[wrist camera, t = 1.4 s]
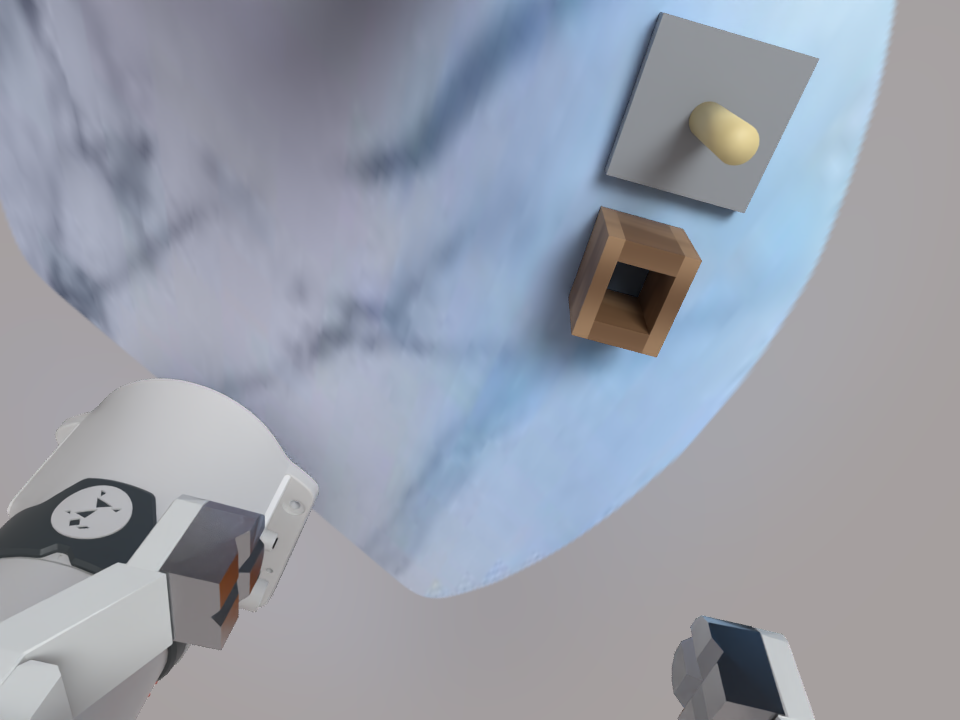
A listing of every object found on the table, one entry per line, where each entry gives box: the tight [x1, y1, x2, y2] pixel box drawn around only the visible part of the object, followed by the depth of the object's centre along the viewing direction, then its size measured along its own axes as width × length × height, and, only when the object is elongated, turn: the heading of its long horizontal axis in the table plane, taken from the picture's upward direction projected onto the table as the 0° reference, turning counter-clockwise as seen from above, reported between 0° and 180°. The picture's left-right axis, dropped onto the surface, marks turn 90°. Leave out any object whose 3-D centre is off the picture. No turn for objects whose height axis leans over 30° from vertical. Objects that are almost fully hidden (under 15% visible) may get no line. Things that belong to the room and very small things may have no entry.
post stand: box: [605, 12, 819, 213], centre depth 30 cm, size 8×8×7 cm
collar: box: [569, 206, 702, 357], centre depth 36 cm, size 6×5×5 cm
